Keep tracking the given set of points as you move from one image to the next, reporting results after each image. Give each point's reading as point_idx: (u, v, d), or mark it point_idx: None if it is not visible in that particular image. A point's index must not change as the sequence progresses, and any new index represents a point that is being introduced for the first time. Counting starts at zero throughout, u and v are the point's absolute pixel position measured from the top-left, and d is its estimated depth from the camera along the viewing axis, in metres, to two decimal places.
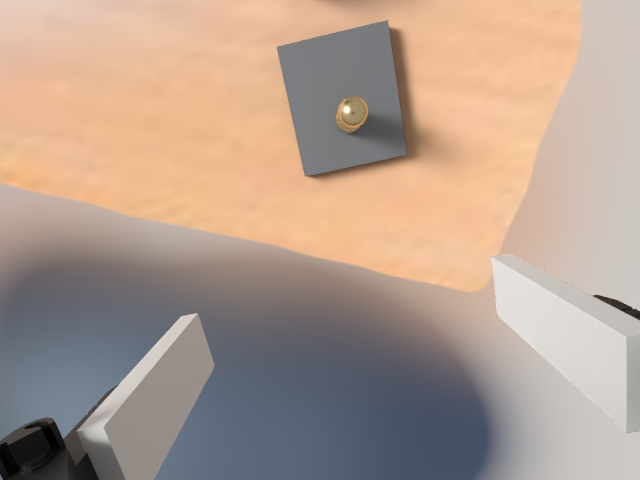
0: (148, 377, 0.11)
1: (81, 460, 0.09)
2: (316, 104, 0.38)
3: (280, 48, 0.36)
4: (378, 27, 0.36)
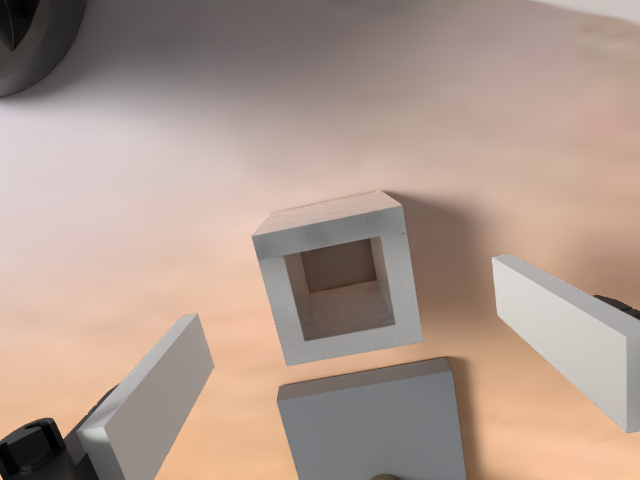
0: (148, 377, 0.11)
1: (81, 460, 0.09)
2: (337, 469, 0.25)
3: (282, 403, 0.23)
4: (437, 379, 0.23)
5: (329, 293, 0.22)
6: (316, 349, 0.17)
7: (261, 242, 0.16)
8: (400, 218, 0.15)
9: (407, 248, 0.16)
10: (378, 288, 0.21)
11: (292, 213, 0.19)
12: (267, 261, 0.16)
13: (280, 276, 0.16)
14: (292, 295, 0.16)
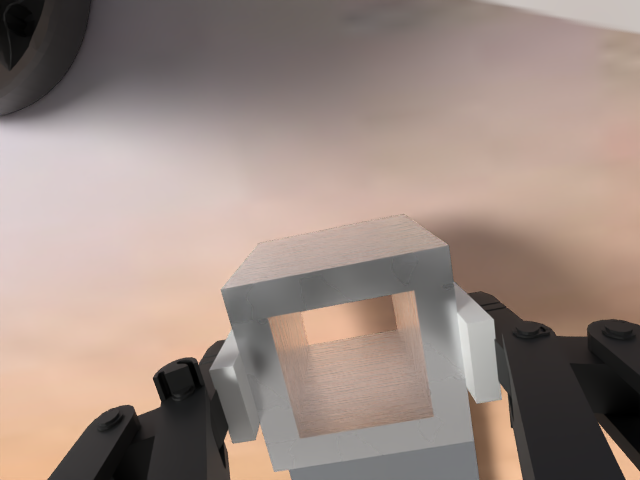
0: None
1: (213, 395, 0.10)
2: None
3: None
4: None
5: (335, 348, 0.17)
6: (317, 449, 0.12)
7: (235, 298, 0.10)
8: (445, 264, 0.10)
9: (454, 308, 0.10)
10: (400, 344, 0.16)
11: (285, 246, 0.14)
12: (244, 326, 0.11)
13: (264, 346, 0.11)
14: (282, 374, 0.11)
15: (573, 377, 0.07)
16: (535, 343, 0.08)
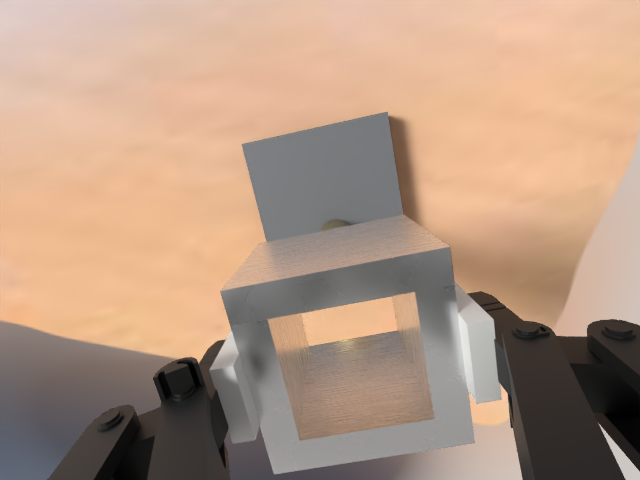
0: None
1: (213, 395, 0.10)
2: (294, 214, 0.29)
3: (246, 146, 0.28)
4: (375, 120, 0.27)
5: (335, 349, 0.17)
6: (317, 451, 0.12)
7: (234, 300, 0.10)
8: (445, 265, 0.10)
9: (455, 310, 0.10)
10: (401, 345, 0.16)
11: (285, 247, 0.14)
12: (244, 327, 0.11)
13: (264, 348, 0.11)
14: (281, 376, 0.11)
15: (573, 377, 0.07)
16: (535, 343, 0.08)
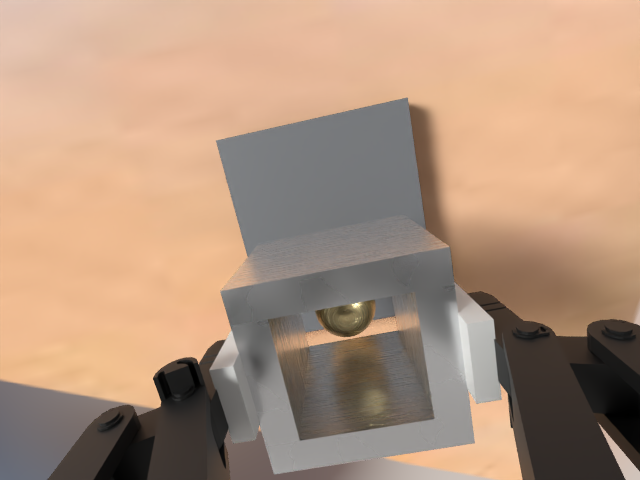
0: None
1: (213, 395, 0.10)
2: (285, 232, 0.22)
3: (222, 143, 0.21)
4: (391, 109, 0.20)
5: (335, 349, 0.17)
6: (317, 451, 0.12)
7: (235, 300, 0.10)
8: (445, 265, 0.10)
9: (455, 310, 0.10)
10: (401, 345, 0.16)
11: (285, 247, 0.14)
12: (244, 327, 0.11)
13: (264, 348, 0.11)
14: (282, 376, 0.11)
15: (573, 377, 0.07)
16: (535, 343, 0.08)
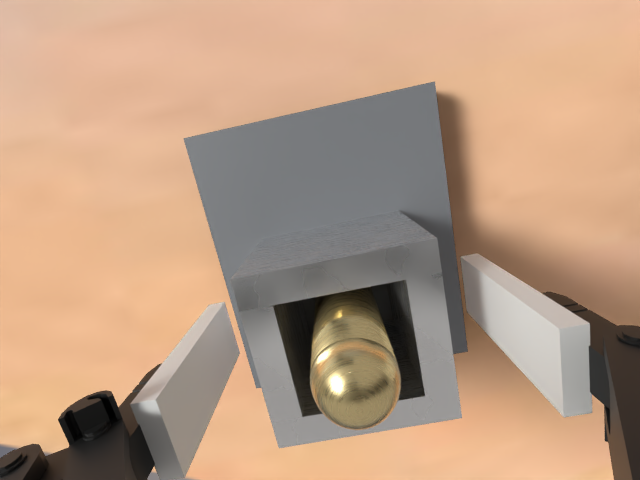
0: (188, 358, 0.11)
1: (134, 431, 0.09)
2: None
3: (192, 142, 0.16)
4: (413, 97, 0.16)
5: None
6: (318, 427, 0.13)
7: (243, 288, 0.11)
8: (434, 255, 0.11)
9: (442, 296, 0.11)
10: (396, 332, 0.17)
11: (287, 241, 0.15)
12: (251, 313, 0.12)
13: (269, 332, 0.12)
14: (286, 357, 0.12)
15: None
16: None
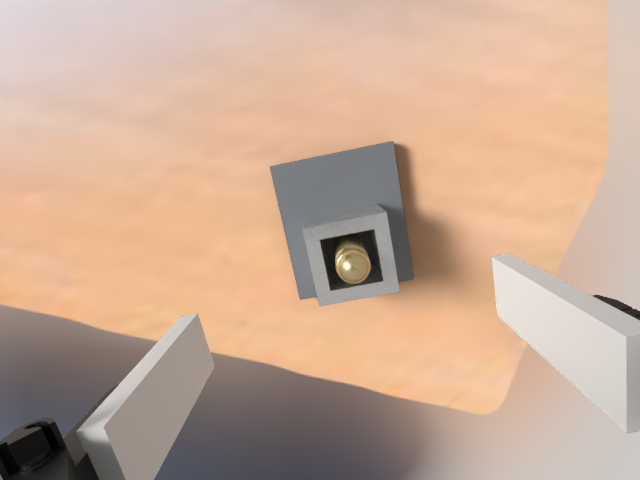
0: (148, 377, 0.11)
1: (81, 460, 0.09)
2: None
3: (273, 168, 0.33)
4: (382, 148, 0.32)
5: None
6: (337, 296, 0.29)
7: (307, 232, 0.28)
8: (385, 218, 0.27)
9: (389, 236, 0.28)
10: (374, 265, 0.33)
11: (321, 217, 0.32)
12: (310, 243, 0.28)
13: (317, 251, 0.28)
14: (324, 263, 0.28)
15: None
16: None
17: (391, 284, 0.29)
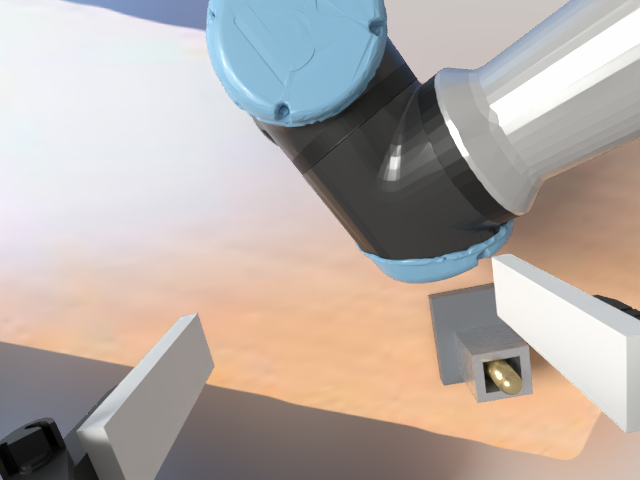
0: (148, 377, 0.11)
1: (81, 460, 0.09)
2: None
3: (434, 300, 0.47)
4: None
5: None
6: (490, 396, 0.43)
7: (475, 357, 0.42)
8: (527, 349, 0.42)
9: (529, 360, 0.42)
10: None
11: (470, 336, 0.46)
12: (476, 364, 0.42)
13: (480, 369, 0.43)
14: (483, 376, 0.43)
15: None
16: None
17: (527, 389, 0.43)
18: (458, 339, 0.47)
